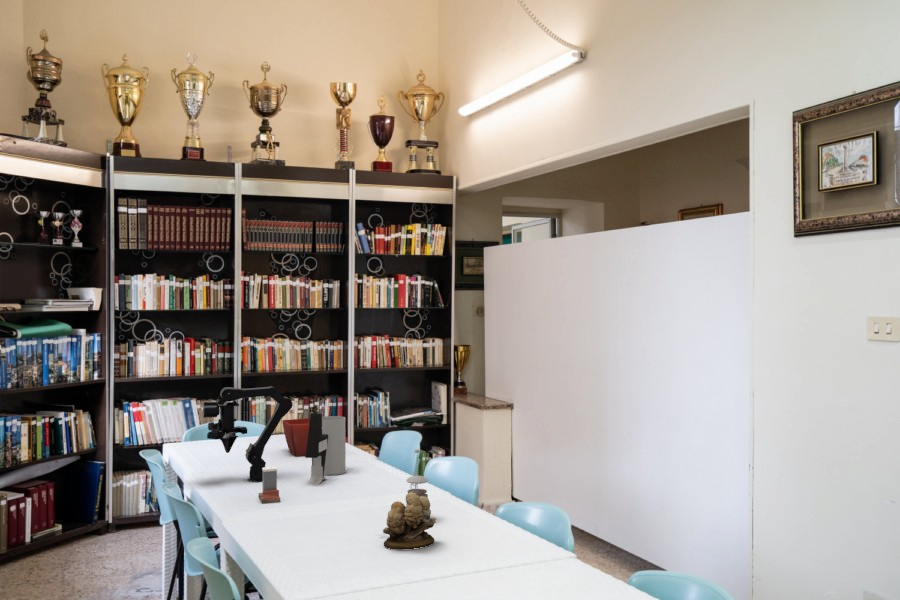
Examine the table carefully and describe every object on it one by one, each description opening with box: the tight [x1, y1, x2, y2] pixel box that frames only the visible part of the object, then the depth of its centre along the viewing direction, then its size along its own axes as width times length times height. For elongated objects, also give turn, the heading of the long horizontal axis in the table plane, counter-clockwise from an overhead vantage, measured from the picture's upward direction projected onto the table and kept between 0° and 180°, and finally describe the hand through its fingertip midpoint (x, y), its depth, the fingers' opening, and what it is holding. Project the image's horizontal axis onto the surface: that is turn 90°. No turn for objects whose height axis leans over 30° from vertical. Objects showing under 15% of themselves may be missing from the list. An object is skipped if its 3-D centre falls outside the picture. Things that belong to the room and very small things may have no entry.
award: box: [304, 412, 328, 486], centre depth 347 cm, size 15×5×30 cm, turn 168°
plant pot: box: [281, 417, 310, 457], centre depth 411 cm, size 19×19×17 cm
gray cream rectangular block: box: [262, 466, 278, 492], centre depth 316 cm, size 4×5×11 cm
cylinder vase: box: [322, 415, 346, 476], centre depth 366 cm, size 12×12×25 cm
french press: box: [405, 448, 429, 507], centre depth 292 cm, size 10×12×25 cm
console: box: [258, 489, 281, 504], centre depth 317 cm, size 11×7×4 cm, turn 21°
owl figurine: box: [382, 492, 437, 550], centre depth 260 cm, size 18×12×17 cm, turn 116°
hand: (227, 452), depth 346 cm, fingers closed
